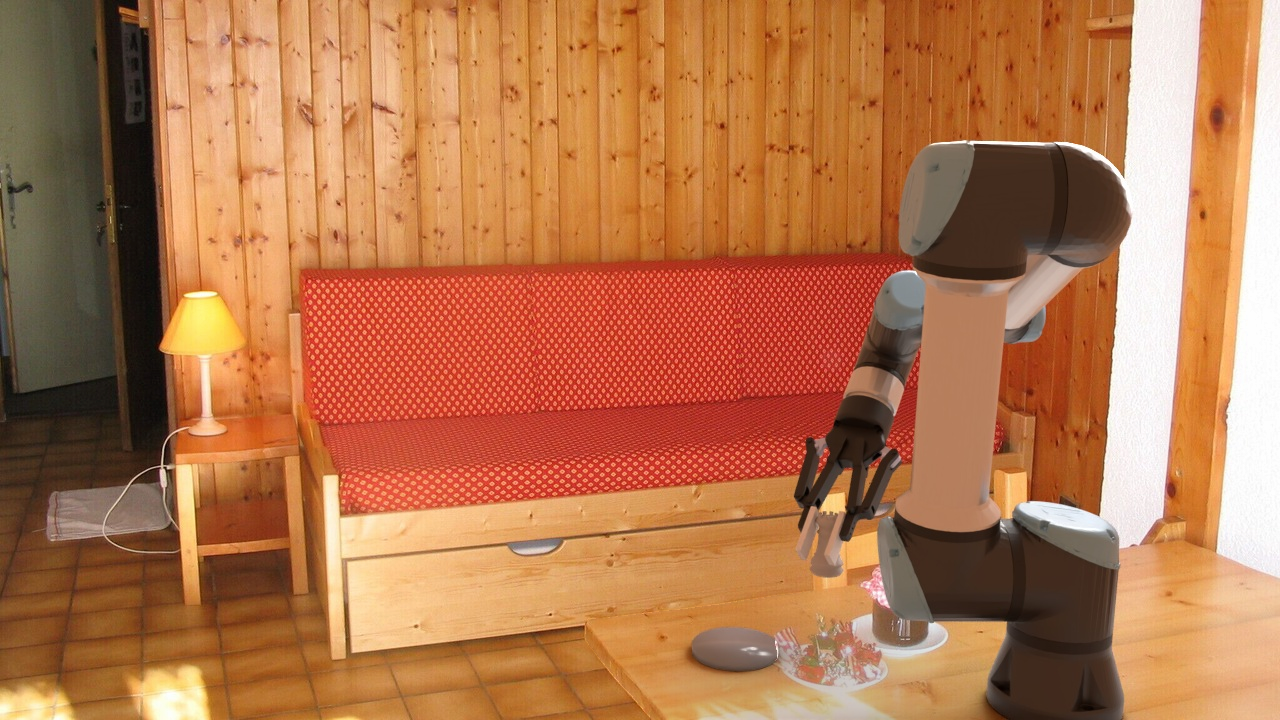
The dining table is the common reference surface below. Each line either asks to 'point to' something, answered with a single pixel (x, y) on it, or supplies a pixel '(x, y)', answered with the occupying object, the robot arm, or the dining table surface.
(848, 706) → the dining table surface
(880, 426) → the robot arm
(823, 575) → the rook chess piece
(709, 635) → the glossy grey pebble
